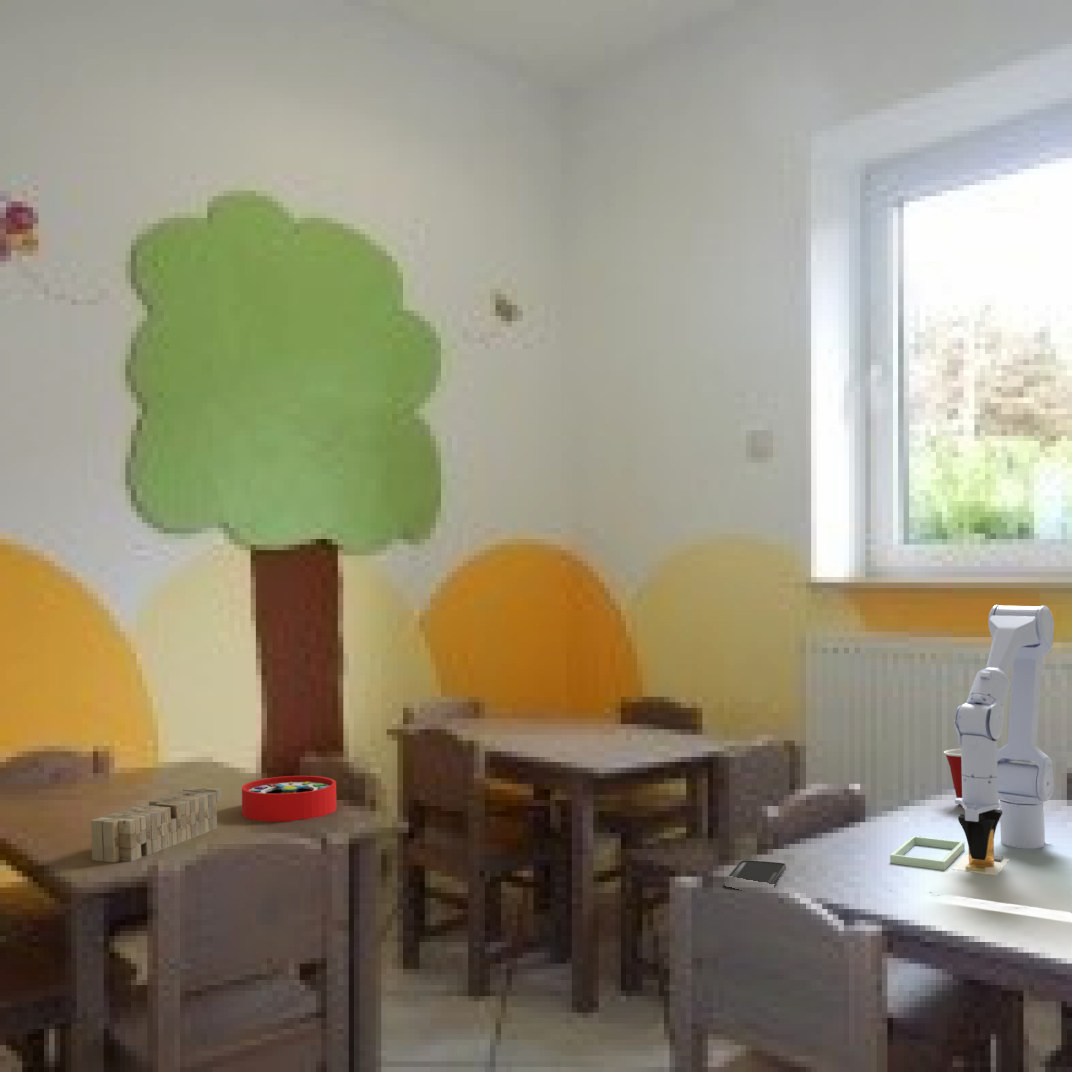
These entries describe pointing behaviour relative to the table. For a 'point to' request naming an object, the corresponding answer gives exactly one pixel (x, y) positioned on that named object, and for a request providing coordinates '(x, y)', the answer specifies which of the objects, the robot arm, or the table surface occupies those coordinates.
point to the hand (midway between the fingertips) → (981, 855)
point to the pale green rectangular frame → (923, 862)
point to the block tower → (154, 825)
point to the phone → (759, 871)
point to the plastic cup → (955, 770)
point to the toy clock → (288, 798)
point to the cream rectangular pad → (994, 870)
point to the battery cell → (989, 857)
